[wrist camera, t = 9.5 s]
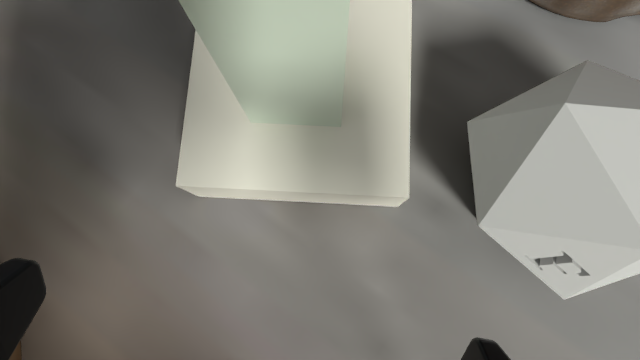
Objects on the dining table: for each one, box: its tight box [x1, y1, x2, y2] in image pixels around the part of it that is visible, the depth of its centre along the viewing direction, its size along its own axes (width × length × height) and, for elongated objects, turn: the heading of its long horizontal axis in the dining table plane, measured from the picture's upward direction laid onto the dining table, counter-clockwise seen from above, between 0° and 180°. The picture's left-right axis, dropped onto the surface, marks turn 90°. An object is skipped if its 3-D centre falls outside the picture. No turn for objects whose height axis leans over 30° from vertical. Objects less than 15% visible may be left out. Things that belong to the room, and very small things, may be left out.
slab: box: [176, 0, 412, 207], centre depth 20 cm, size 10×10×3 cm
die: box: [467, 60, 640, 299], centre depth 16 cm, size 8×9×10 cm
